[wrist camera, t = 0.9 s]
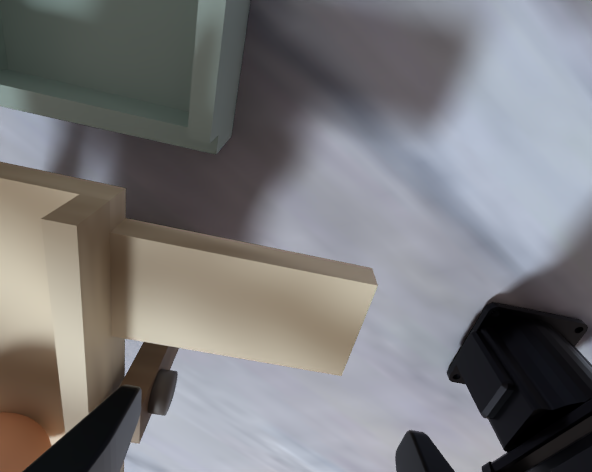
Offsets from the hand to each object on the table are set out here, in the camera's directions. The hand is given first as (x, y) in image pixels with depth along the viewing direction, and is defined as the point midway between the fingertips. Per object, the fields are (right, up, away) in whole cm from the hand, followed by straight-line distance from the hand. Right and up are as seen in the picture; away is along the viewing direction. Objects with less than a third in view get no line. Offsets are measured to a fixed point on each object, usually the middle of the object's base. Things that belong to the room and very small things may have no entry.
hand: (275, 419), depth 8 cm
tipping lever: (-6, 0, +8) cm, 10 cm away
